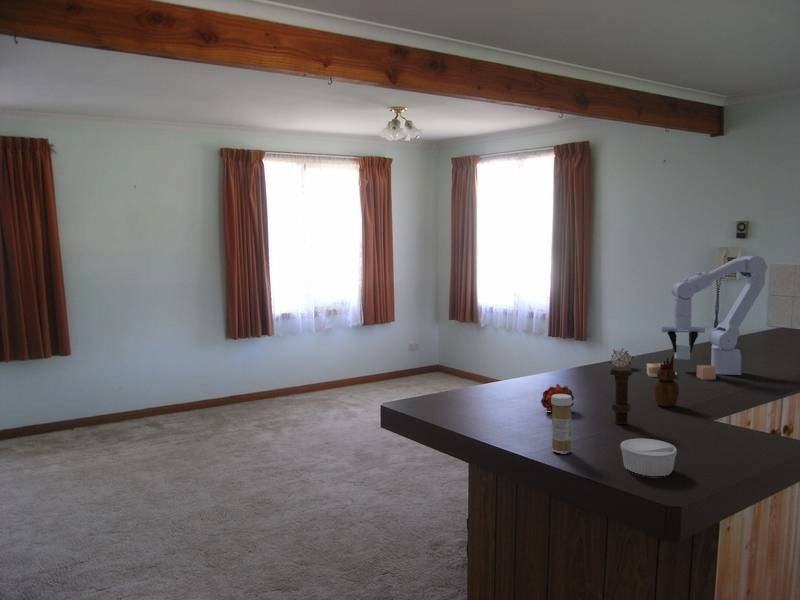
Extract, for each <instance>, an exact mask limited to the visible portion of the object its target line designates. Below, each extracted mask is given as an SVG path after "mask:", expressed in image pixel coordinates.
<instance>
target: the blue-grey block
mask: <svg viewBox="0 0 800 600" xmlns="http://www.w3.org/2000/svg"><path fill="white" fill-rule="evenodd" d="M674 359H676V360H691V353H690V345H689V343H688V344H686V343H685V344H683V343H682V344H680V343H676V352H674Z"/></svg>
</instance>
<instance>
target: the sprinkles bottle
mask: <svg viewBox="0 0 800 600" xmlns="http://www.w3.org/2000/svg"><path fill="white" fill-rule="evenodd" d="M551 403H552V413H551V439H552V440H551V445H552V447H551V449H552V448H553V449H554V450H557V451H564V452H565V451H570V450H571V451H572V407H571V404H572V403H573V400H572V397H571V396H570V395H567V394H555V395H552V397H551Z"/></svg>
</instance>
